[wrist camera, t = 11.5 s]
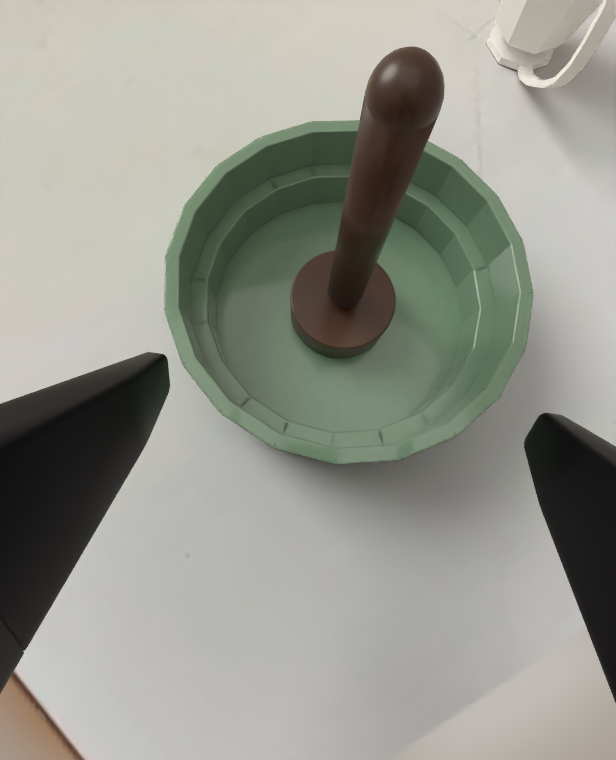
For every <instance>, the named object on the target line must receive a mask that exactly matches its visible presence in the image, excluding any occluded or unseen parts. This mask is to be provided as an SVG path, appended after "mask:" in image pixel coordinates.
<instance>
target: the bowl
mask: <svg viewBox="0 0 616 760" xmlns="http://www.w3.org/2000/svg"><path fill="white" fill-rule="evenodd" d="M359 122H360V120H355V121H312V122H308V123H304V124H301V125H298V126H295V127H291V128H288V129H285V130H281V131H278V132H275V133H271V134H268V135H265V136H262V137H261V138H258V139H256V140H255V141H253V142H252V143H250V144H249V145H247V146H246V147H244V148H243V149H241V150H239V151H238V152H236V153H235V154H233V155H232V156H230V157H229V158H227V159H226V160H224V161H223V162H221V163H220V164H218V165H217V166H216V167H215V168H214V169H213V171H212V172H211V173H210V174H209V176H208V177H207V178H206V179H205V181H204V182H203V183H202V184H201V185H200V187H199V188H198V189H197V190H196V192H195V193H194V194H193V195H192V196H191V198H190V199H189V200H188V201H187V203H186V204H185V207H183V209H182V212H181V215H180V218H179V220H178V223H177V226H176V228H175V231H174V234H173V236H172V239H171V242H170V244H169V247H168V250H167V252H166V256H165V293H164V310H165V315H166V318H167V321H168V324H169V327H170V329H171V332H172V335H173V338H174V341H175V344H176V347H177V350H178V353H179V356H180V359H181V362H182V364H183V365H184V368H185V369H186V370H187V372H188V373H189V374H190V375H191V377H192V378H193V379H194V381H195V382H196V383H197V384H198V386H199V387H200V388H201V389H202V391H203V392H204V393H205V395H206V396H207V397H208V398H209V400H210V401H211V402H212V404H213V405H214V406H215V407H216V409H217V410H218V411H219V412H220V413H221V414H222V415H223V416H225V417H226V418H228V419H229V420H231V421H233V422H234V423H236V424H237V425H239V426H240V427H242V428H243V429H245V430H246V431H248V432H249V433H251V434H252V435H254V436H255V437H257V438H259V439H260V440H262V441H263V442H265V443H266V444H268V445H269V446H271V447H273V448H275V449H278V450H282V451H286V452H290V453H293V454H297V455H301V456H305V457H309V458H312V459H316V460H320V461H324V462H328V463H332V464H352V463H367V462H383V461H398V460H401V459H404V458H406V457H409V456H411V455H413V454H416V453H418V452H421V451H423V450H425V449H428V448H430V447H433V446H435V445H437V444H440V443H442V442H445V441H447V440H449V439H452V438H454V437H455V436H458V435H459V434H460V433H461V432H462V431H463V430H464V429H465V428H466V427H468V426H469V425H470V424H471V423H472V422H473V421H474V420H475V419H476V418H477V417H479V416H480V415H481V414H482V413H483V412H484V411H485V410H486V409H487V408H489V407H490V406H491V405H492V404H493V403H494V402H495V401H496V400H497V399H498V398H499V397H500V396H501V394H502V392H503V390H504V388H505V386H506V384H507V383H508V381H509V379H510V377H511V375H512V373H513V371H514V369H515V367H516V366H517V364H518V362H519V360H520V358H521V356H522V354H523V352H524V350H525V347H526V344H527V337H528V329H529V322H530V315H531V308H532V301H533V289H532V284H531V279H530V273H529V268H528V263H527V258H526V253H525V248H524V243H523V240H522V238H521V237H520V235H519V233H518V231H517V229H516V228H515V226H514V224H513V222H512V220H511V219H510V217H509V215H508V213H507V211H506V210H505V208H504V206H503V204H502V202H501V201H500V199H499V197H498V196H497V194H496V193H495V192H494V191H493V190H492V189H491V188H490V187H489V186H488V185H487V184H485V183H484V182H483V181H482V180H481V179H480V178H479V177H478V176H477V175H476V174H475V173H474V172H473V171H472V170H471V169H470V168H469V167H468V166H467V165H466V164H465V163H464V162H463V161H462V160H461V159H459V158H458V157H456V156H455V155H453V154H451V153H449V152H447V151H445V150H444V149H442V148H440V147H438V146H436V145H435V144H433V143H431V142H429V141H427V143H426V146H425V148H424V151H423V153H422V155H421V158H420V160H419V162H418V165H417V167H416V170H415V172H414V174H413V177H412V179H411V182H410V184H409V186H408V189H407V191H406V193H405V196H404V198H403V201H402V203H401V205H400V208H399V210H398V213H397V215H396V217H395V220H394V222H393V224H392V227H391V229H390V232H389V234H388V236H387V239H386V241H385V244H384V246H383V248H382V251H381V253H380V255H379V258H378V260H377V263H378V264H379V265H380V266H381V267H382V268H383V269H384V270H385V272H386V273H387V274H388V276H389V278H390V280H391V282H392V285H393V287H394V291H395V298H396V305H395V312H394V315H393V318H392V320H391V323H390V325H389V326H388V328H387V329H386V330H385V332H384V333H383V335H382V336H381V337H380V339H379V340H378V341H377V342H376V344H375V345H374V346H372V347H371V348H370V349H369V350H367V351H366V352H364V353H362V354H360V355H357V356H354V357H349V358H331V357H327V356H324V355H321V354H319V353H317V352H315V351H313V350H312V349H310V348H309V347H308V346H307V345H305V344H304V343H303V342H302V340H301V339H300V338H299V336H298V335H297V333H296V331H295V329H294V327H293V324H292V320H291V308H290V293H291V287H292V283H293V281H294V278H295V277H296V275H297V273H298V272H299V270H300V269H301V268H302V267H303V266H304V265H305V264H306V263H307V262H308V261H309V260H311V259H312V258H314V257H316V256H317V255H320V254H322V253H325V252H329V251H334V250H335V248H336V243H337V237H338V232H339V227H340V222H341V216H342V211H343V206H344V201H345V196H346V190H347V185H348V180H349V175H350V169H351V164H352V159H353V154H354V148H355V143H356V138H357V133H358V128H359Z"/></svg>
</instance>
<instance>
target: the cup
mask: <svg viewBox="0 0 616 760" xmlns="http://www.w3.org/2000/svg"><path fill="white" fill-rule="evenodd" d="M601 3H602V4H601ZM600 4H601V6H600V9H599V12H598V13H597V15H596V17H595V19H594V21H593V23H592V24H591V26H590V28H589V30H588V32H587V33H586V35H585V37H584V39H583V41H582V42H581V44H580V45H579V47H578V49H577V50H576V52H575V53H574V55H573V57H572V58H571V60H570V61H569V63H568V64H567V65H566V66H565V67H564V68H563V69H562V70H561V71H560V72H559V73H558V74H557V75H556V76H555V77H554V78H551V79H548V80H541V79H539V78H538V77H537V76H536V75H535V74H534V72H533V69H537V68H540V67H543V66H546V65H547V64H548V62H549V61H550V59H551V56H552V53H553V51H554V48H555V47H558V46H561V45H562V44H563V43H564V42H565V41H566V40H567V39H568V38H569V37H570V36H571V35H572V34H573V33H574V32H575V31H576V30H577V29H578V28H579V26H580V25H581V24H582V23H583V22H584V21H585V20H586V19H587V18H588V17H589V16H590V15H591V14H592V13H593V12H594V11H595V10H596V9H597V7H598V6H599V5H600ZM615 17H616V0H500V2H499V6H498V11H497V15H496V19H495V24H494V26H493V28H492V31H491V33H490V36H489V38H488V41H487V43H486V44H487V45H488V47H489V49H490V50H491V52H492V54H493V55H494V57H495V59H496V60H497V62H498V63H499V64H501V65H504V66H507V67H510V68H512V69H515V70H518V75H519V79H520V80H521V81H522V82H523V83H524V84H525V85H528V86H532V87H540V88H557V87H560V86H563V85H565V84H568V83H569V82H570V81H571V80H572V79H573V78H574V77H575V76H576V75H577V74H578V73H579V72H580V71H581V70H582V69H583V68H584V66H585V65H586V64H587V62H588V61H589V59H590V58H591V56H592V55H593V53H594V52H595V50H596V49H597V47H598V46H599V45H600V43H601V41H602V39H603V38H604V36H605V34H606V33H607V31H608V29H609V27H610V26H611V24H612V22H613V21H614V19H615Z"/></svg>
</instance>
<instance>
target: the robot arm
mask: <svg viewBox="0 0 616 760" xmlns="http://www.w3.org/2000/svg"><path fill="white" fill-rule="evenodd" d="M169 388H170V380H169V370H168V360H167V357H166V356H165V355H163V354H158V353H151V352H147V353H144V354H141V355H138V356H135V357H133V358H130V359H127V360H124V361H121V362H118V363H116V364H113V365H110V366H107V367H104V368H101V369H98V370H96V371H93V372H90V373H87V374H84V375H81V376H78V377H76V378H73V379H70V380H67V381H64V382H61V383H58V384H56V385H53V386H50V387H47V388H44V389H41V390H39V391H36V392H33V393H30V394H27V395H24V396H21V397H19V398H16V399H13V400H10V401H7V402H4V403H1V404H0V693H1V691H2V690H3V688H4V686H5V685H6V683H7V681H8V680H9V678H10V676H11V675H12V673H13V671H14V669H15V668H16V666H17V664H18V663H19V661H20V659H21V657H22V656H23V654H24V652H23V651H24V650H26V648H27V647H28V645H29V643H30V642H31V640H32V638H33V636H34V635H35V633H36V631H37V630H38V628H39V626H40V625H41V623H42V621H43V619H44V618H45V616H46V614H47V613H48V611H49V609H50V607H51V606H52V604H53V602H54V601H55V599H56V597H57V596H58V594H59V592H60V590H61V589H62V587H63V585H64V584H65V582H66V580H67V578H68V577H69V575H70V573H71V572H72V570H73V568H74V567H75V565H76V563H77V561H78V560H79V558H80V556H81V555H82V553H83V551H84V550H85V548H86V546H87V544H88V543H89V541H90V539H91V538H92V536H93V534H94V532H95V531H96V529H97V527H98V526H99V524H100V522H101V521H102V519H103V517H104V515H105V514H106V512H107V510H108V509H109V507H110V505H111V504H112V502H113V500H114V498H115V497H116V495H117V493H118V492H119V490H120V488H121V486H122V485H123V483H124V481H125V480H126V478H127V476H128V475H129V473H130V471H131V469H132V468H133V466H134V464H135V463H136V461H137V459H138V458H139V456H140V454H141V452H142V451H143V449H144V447H145V445H146V443H147V441H148V439H149V437H150V434H151V432H152V430H153V428H154V425H155V423H156V421H157V418H158V416H159V414H160V411H161V409H162V407H163V404H164V402H165V400H166V397H167V395H168V393H169ZM524 448H525V452H526V456H527V460H528V464H529V468H530V471H531V475H532V479H533V483H534V486H535V490H536V494H537V497H538V501H539V504H540V507H541V510H542V513H543V515H544V518H545V521H546V523H547V526H548V528H549V531H550V534H551V536H552V539H553V541H554V544H555V547H556V549H557V552H558V554H559V557H560V560H561V562H562V565H563V567H564V570H565V573H566V575H567V578H568V580H569V583H570V586H571V588H572V591H573V593H574V596H575V599H576V601H577V604H578V606H579V609H580V612H581V614H582V617H583V619H584V622H585V624H586V627H587V630H588V632H589V635H590V637H591V640H592V643H593V645H594V648H595V650H596V653H597V656H598V658H599V661H600V663H601V666H602V669H603V671H604V674H605V676H606V679H607V682H608V684H609V687H610V689H611V692H612V694H613V697H614V700H615V702H616V446H614V445H612V444H610V443H609V442H607V441H605V440H604V439H602V438H600V437H598V436H597V435H595V434H593V433H592V432H590V431H588V430H586V429H585V428H583V427H581V426H580V425H578V424H576V423H574V422H573V421H571V420H569V419H568V418H566V417H564V416H562V415H557V414H551V413H543V414H541V415H540V416H539V417H538V418H537V420H536V422H535V423H534V425H533V427H532V428H531V430H530V431H529V433H528V435H527V436H526V438H525V442H524Z"/></svg>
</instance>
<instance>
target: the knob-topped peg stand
mask: <svg viewBox="0 0 616 760" xmlns="http://www.w3.org/2000/svg"><path fill="white" fill-rule="evenodd" d="M443 99H444V78H443V73H442V71H441V69H440V66H439V64H438V62H437V61H436V59H435V58H434V57H433V56H432V55H431V54H430V53H429V52H427V51H426V50H424V49H421V48H418V47H404V48H399V49H397V50H394V51H393V52H391V53H390V54H388V55H387V56H385V57H384V58H383V59H382V60H381V61H380V63H379V64H378V65H377V66H376V68H375V69H374V71H373V73H372V74H371V76H370V78H369V81H368V84H367V87H366V91H365V96H364V101H363V107H362V112H361V117H360V122H359V128H358V133H357V138H356V143H355V148H354V154H353V159H352V164H351V169H350V175H349V180H348V185H347V190H346V196H345V201H344V206H343V211H342V216H341V222H340V227H339V232H338V237H337V243H336V248H335V250H334V251H329V252H325V253H322V254H320V255H317V256H316V257H314V258H312V259H311V260H309V261H308V262H307V263H306V264H305V265H304V266H303V267H302V268H301V269H300V270H299V272H298V273H297V275H296V277H295V278H294V281H293V283H292V287H291V293H290V308H291V320H292V324H293V327H294V329H295V331H296V333H297V335H298V336H299V338H300V339H301V340H302V342H303V343H304V344H305V345H307V346H308V347H309V348H310V349H312V350H313V351H315V352H317V353H319V354H321V355H324V356H327V357H331V358H349V357H354V356H357V355H360V354H362V353H364V352H366V351H367V350H369V349H370V348H371V347H372V346H374V345H375V344H376V342H377V341H378V340H379V339H380V337H381V336H382V335H383V333H384V332H385V330H386V329H387V328H388V326H389V325H390V323H391V320H392V318H393V315H394V312H395V305H396V298H395V291H394V287H393V285H392V282H391V280H390V278H389V276H388V274H387V273H386V272H385V270H384V269H383V268H382V267H381V266H380V265H379V264H378V263H377V260H378V258H379V255H380V253H381V251H382V248H383V246H384V244H385V241H386V239H387V236H388V234H389V232H390V229H391V227H392V224H393V222H394V220H395V217H396V215H397V213H398V210H399V208H400V205H401V203H402V201H403V198H404V196H405V193H406V191H407V189H408V186H409V184H410V182H411V179H412V177H413V174H414V172H415V170H416V167H417V165H418V162H419V160H420V158H421V155H422V153H423V151H424V148H425V146H426V143H427V141H428V139H429V136H430V134H431V132H432V129H433V127H434V124H435V122H436V120H437V117H438V115H439V112H440V109H441V106H442V103H443Z"/></svg>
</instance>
